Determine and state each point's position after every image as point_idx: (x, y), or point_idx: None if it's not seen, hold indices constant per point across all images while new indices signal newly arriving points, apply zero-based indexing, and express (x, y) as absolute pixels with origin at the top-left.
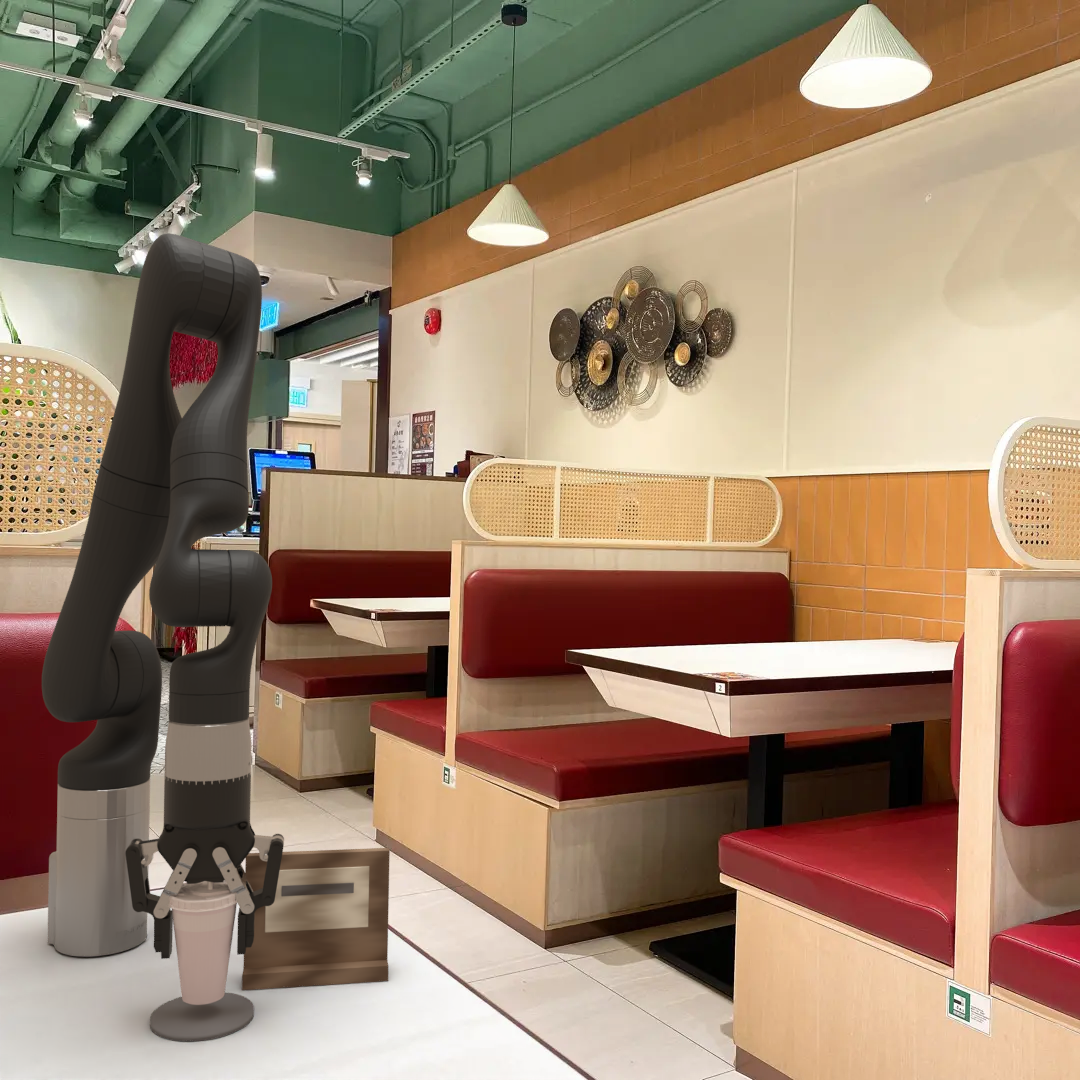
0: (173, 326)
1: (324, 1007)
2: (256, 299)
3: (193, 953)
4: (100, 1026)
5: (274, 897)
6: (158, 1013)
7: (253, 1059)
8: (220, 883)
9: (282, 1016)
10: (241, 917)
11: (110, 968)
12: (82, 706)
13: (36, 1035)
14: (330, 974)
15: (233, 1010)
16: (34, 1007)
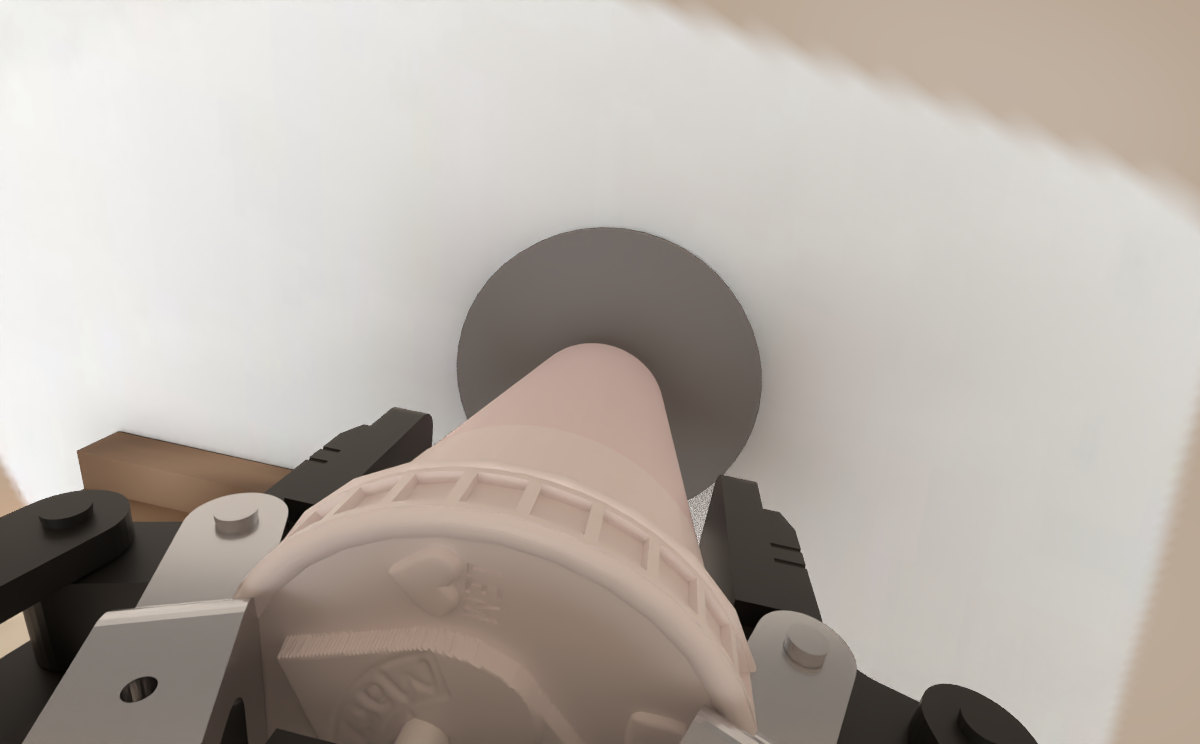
0: None
1: (272, 332)
2: None
3: (613, 406)
4: (900, 433)
5: (13, 514)
6: (731, 427)
7: (469, 36)
8: None
9: (385, 315)
10: (315, 495)
11: None
12: None
13: (1098, 441)
14: (243, 478)
15: (515, 369)
16: (1063, 618)
